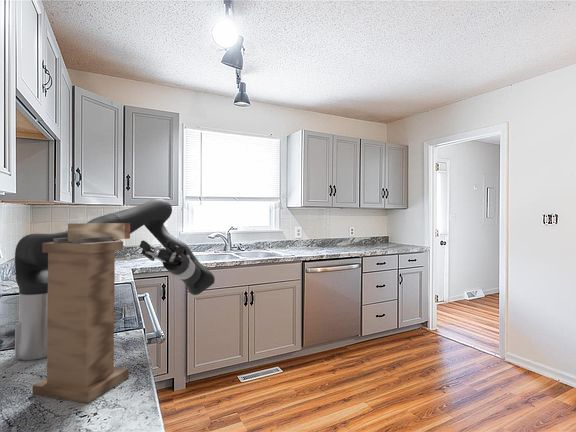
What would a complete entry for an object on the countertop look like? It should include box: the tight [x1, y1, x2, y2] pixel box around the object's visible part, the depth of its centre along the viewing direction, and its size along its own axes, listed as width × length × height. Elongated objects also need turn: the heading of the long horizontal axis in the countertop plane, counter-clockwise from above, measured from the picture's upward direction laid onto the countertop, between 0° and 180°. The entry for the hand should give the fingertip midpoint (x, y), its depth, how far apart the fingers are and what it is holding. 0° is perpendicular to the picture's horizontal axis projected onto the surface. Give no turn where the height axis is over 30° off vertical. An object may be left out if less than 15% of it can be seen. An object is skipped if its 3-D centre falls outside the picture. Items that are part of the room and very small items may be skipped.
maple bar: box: [67, 222, 131, 242], centre depth 82 cm, size 16×3×4 cm, turn 166°
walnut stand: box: [32, 237, 130, 404], centre depth 76 cm, size 12×14×33 cm
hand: (154, 243), depth 101 cm, fingers open, 8 cm apart
